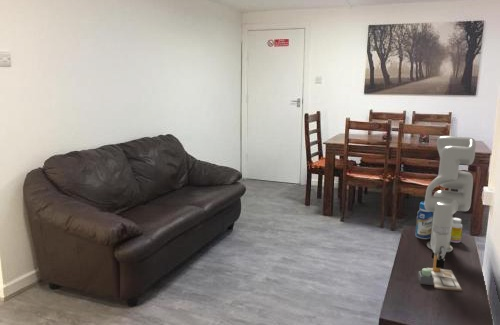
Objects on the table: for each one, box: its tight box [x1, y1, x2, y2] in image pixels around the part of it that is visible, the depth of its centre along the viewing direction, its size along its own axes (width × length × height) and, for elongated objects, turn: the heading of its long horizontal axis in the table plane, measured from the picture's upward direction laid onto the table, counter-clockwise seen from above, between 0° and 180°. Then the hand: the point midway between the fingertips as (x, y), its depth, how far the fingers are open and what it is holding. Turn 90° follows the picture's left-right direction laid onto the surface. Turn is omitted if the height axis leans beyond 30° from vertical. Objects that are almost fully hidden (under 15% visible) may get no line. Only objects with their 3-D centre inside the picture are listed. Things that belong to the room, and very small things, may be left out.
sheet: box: [426, 267, 463, 292], centre depth 187 cm, size 19×11×1 cm, turn 167°
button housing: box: [417, 270, 434, 286], centre depth 184 cm, size 5×5×4 cm
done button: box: [421, 267, 431, 277], centre depth 184 cm, size 4×4×4 cm
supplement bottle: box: [450, 217, 463, 244], centre depth 229 cm, size 7×7×13 cm
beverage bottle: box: [414, 201, 434, 240], centre depth 233 cm, size 8×8×20 cm
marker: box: [432, 252, 442, 272], centre depth 193 cm, size 3×3×10 cm
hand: (437, 263), depth 193 cm, fingers open, 9 cm apart
